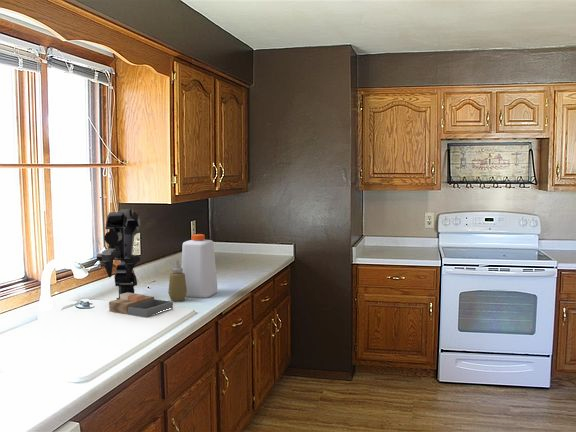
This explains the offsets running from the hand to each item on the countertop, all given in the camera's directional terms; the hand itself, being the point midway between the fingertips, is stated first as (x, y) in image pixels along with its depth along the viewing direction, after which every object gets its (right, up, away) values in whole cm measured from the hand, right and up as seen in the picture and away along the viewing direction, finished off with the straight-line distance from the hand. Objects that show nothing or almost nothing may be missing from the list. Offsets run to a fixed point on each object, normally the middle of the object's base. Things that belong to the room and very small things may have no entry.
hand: (118, 278), depth 250 cm
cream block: (+5, -8, -3) cm, 10 cm away
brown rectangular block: (+7, -12, -4) cm, 15 cm away
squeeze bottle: (+23, -11, +11) cm, 28 cm away
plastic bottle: (+31, -10, +23) cm, 40 cm away
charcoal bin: (+16, -13, -9) cm, 22 cm away
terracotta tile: (+9, -9, -5) cm, 13 cm away
